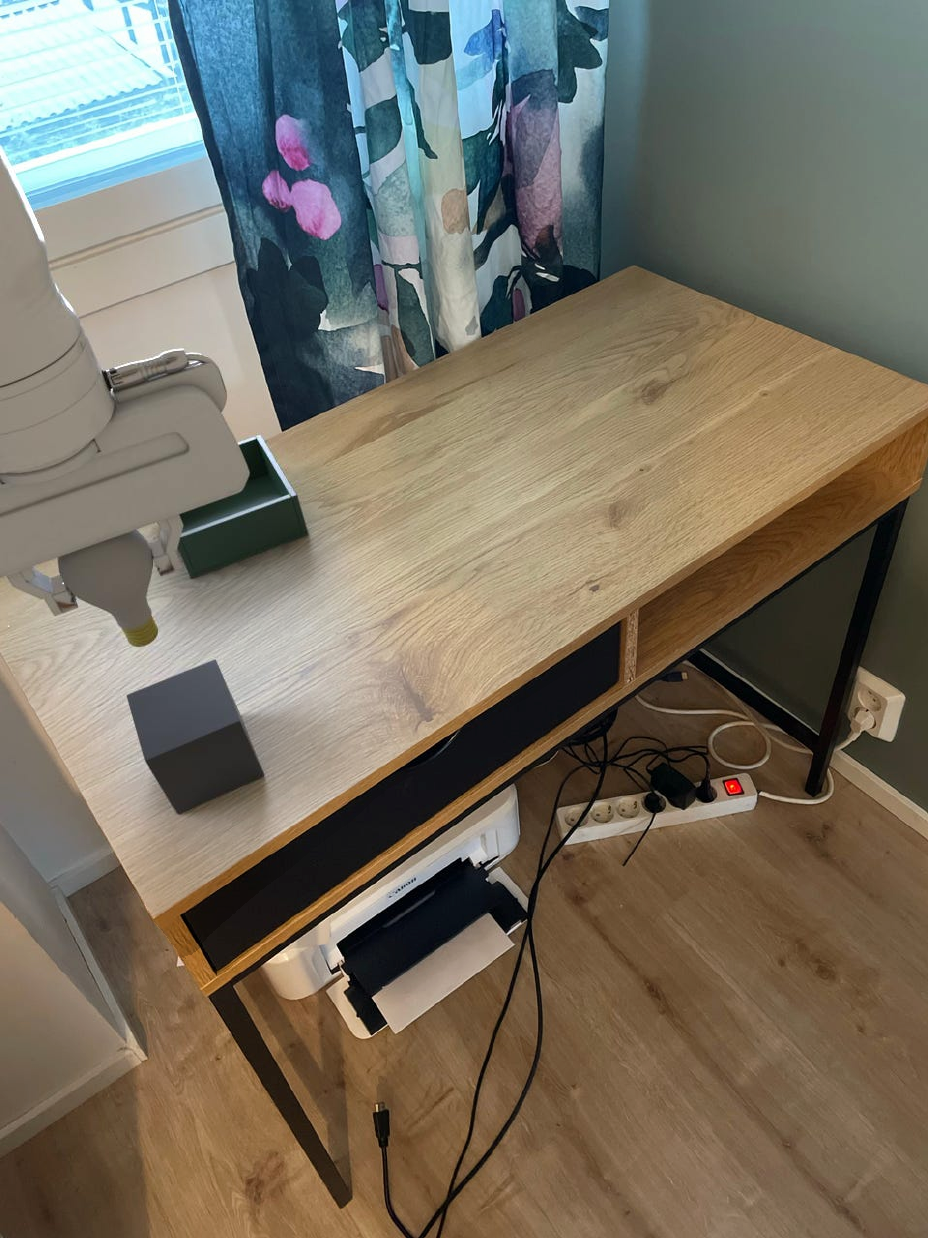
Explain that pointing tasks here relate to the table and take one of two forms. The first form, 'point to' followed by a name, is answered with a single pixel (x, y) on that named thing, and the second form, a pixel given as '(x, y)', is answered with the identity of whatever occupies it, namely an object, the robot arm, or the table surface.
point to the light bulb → (115, 582)
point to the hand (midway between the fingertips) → (118, 587)
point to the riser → (194, 736)
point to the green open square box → (243, 516)
